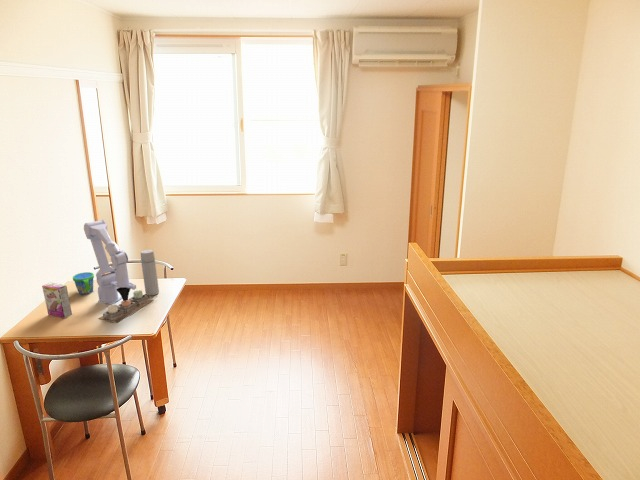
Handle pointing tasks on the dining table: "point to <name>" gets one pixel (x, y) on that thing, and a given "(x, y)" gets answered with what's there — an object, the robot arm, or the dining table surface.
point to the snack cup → (84, 282)
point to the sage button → (138, 295)
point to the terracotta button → (126, 303)
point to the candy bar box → (57, 300)
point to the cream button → (112, 309)
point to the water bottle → (149, 272)
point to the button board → (126, 309)
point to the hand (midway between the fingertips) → (125, 300)
